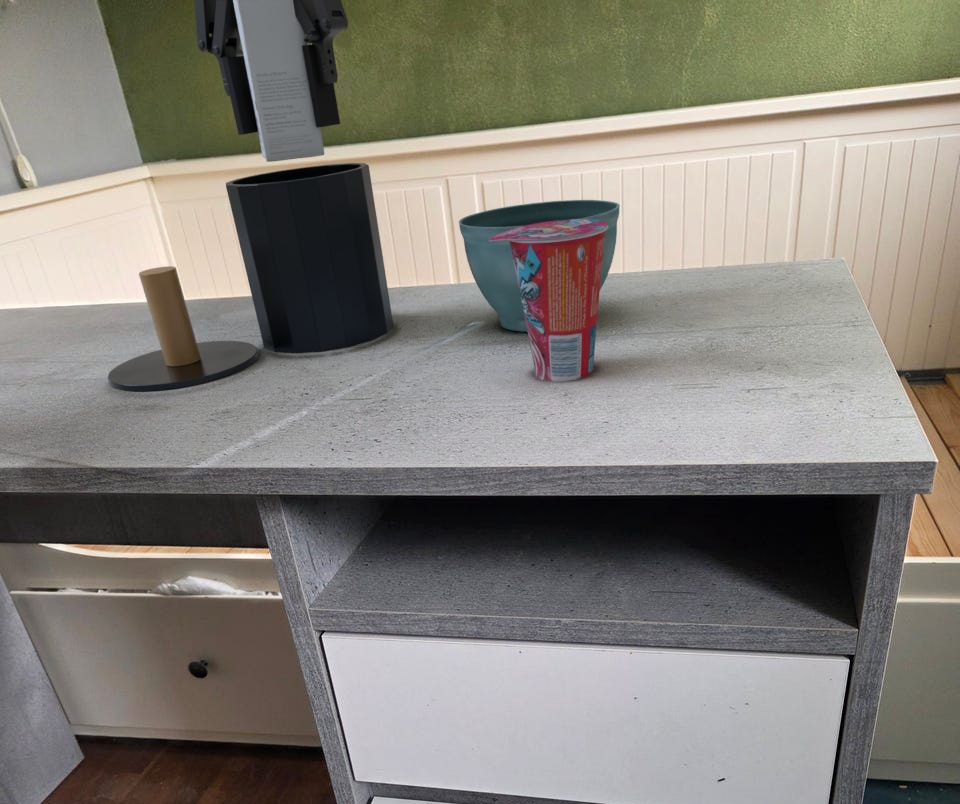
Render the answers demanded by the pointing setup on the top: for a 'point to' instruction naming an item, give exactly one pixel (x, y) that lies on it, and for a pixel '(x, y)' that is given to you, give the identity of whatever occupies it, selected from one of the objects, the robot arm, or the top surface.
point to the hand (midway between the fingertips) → (288, 129)
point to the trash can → (312, 256)
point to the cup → (559, 292)
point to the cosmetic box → (278, 79)
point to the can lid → (177, 344)
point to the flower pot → (495, 257)
